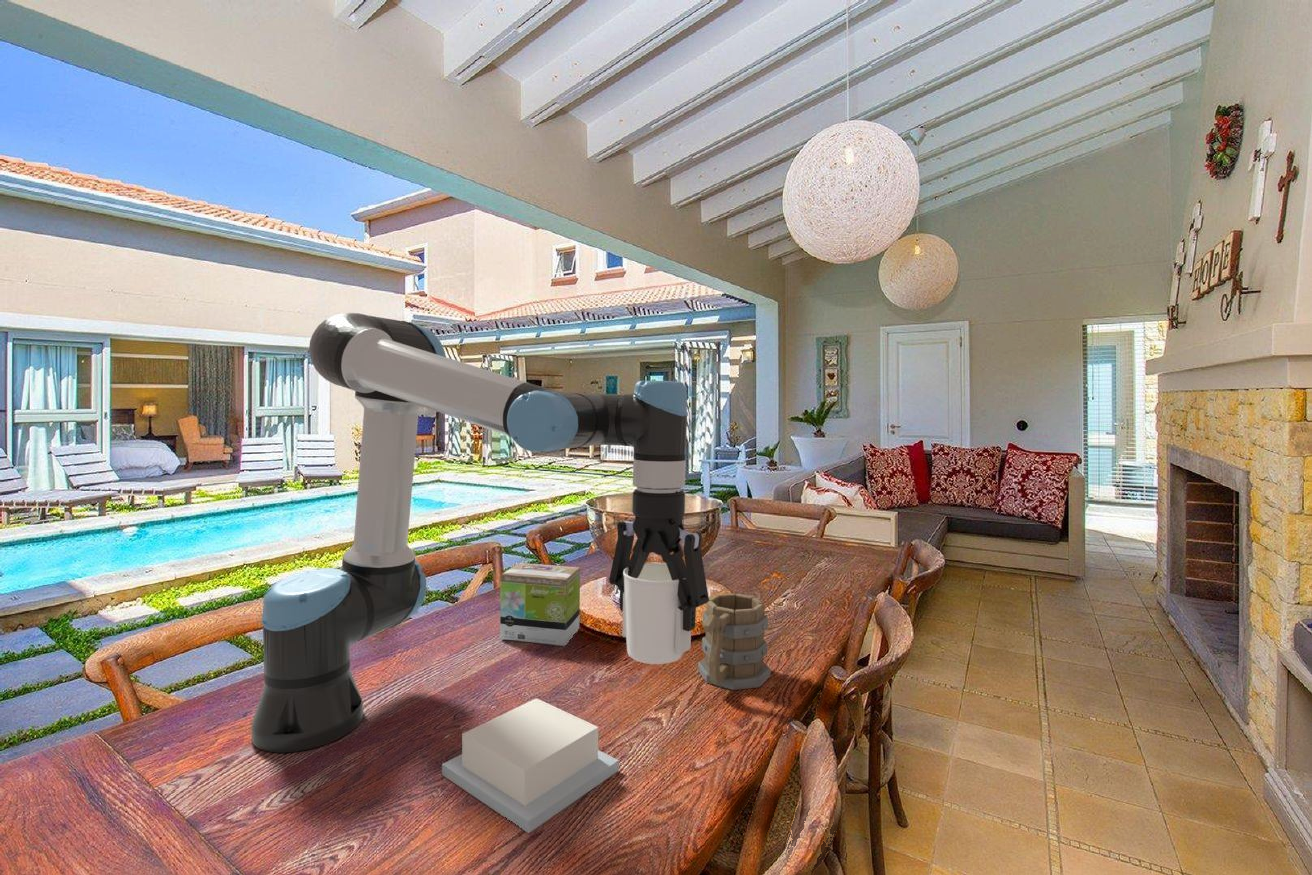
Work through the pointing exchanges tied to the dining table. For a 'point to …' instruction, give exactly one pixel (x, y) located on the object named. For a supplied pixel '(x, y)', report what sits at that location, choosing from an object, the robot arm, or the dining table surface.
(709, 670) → the tankard
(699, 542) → the robot arm
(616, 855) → the dining table surface
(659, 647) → the candle holder
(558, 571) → the tea box
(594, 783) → the pedestal
